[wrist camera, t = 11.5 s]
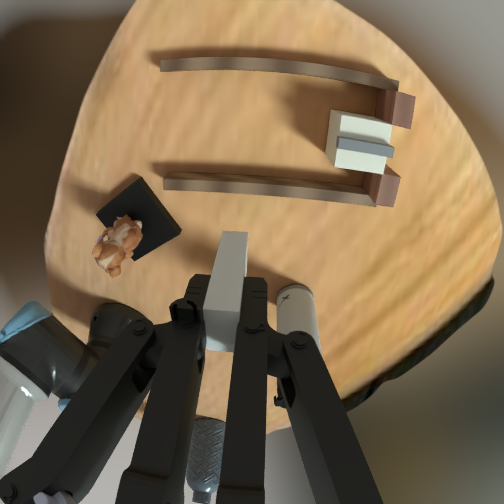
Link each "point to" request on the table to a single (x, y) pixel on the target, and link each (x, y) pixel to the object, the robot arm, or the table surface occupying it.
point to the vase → (205, 458)
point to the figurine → (132, 227)
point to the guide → (370, 194)
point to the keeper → (358, 142)
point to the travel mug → (295, 318)
